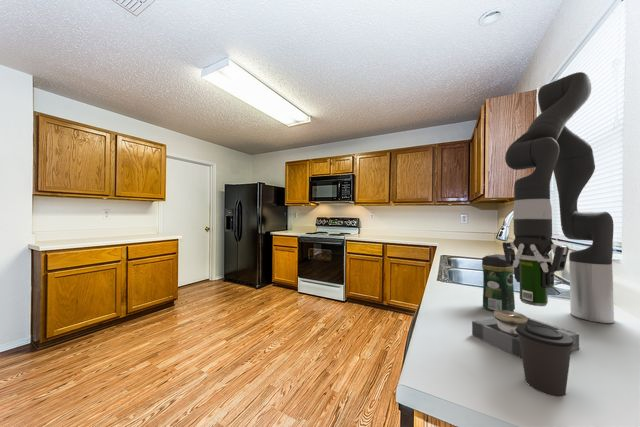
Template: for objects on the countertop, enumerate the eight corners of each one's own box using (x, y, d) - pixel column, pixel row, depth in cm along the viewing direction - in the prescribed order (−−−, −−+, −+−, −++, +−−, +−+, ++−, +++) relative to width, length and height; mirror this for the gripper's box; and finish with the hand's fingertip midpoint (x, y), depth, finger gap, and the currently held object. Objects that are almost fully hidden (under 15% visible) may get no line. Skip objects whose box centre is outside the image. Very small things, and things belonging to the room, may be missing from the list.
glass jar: (506, 336, 64) (506, 309, 64) (534, 348, 58) (534, 318, 58) (488, 339, 62) (487, 311, 62) (515, 352, 56) (514, 321, 56)
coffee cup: (505, 371, 49) (504, 319, 49) (548, 373, 48) (546, 320, 49) (540, 401, 41) (539, 338, 41) (592, 403, 40) (590, 340, 41)
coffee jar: (492, 303, 91) (491, 252, 91) (518, 310, 84) (517, 255, 85) (478, 308, 86) (477, 253, 86) (505, 315, 79) (504, 256, 80)
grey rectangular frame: (519, 327, 70) (519, 314, 70) (579, 349, 58) (578, 334, 58) (472, 334, 65) (472, 321, 65) (527, 361, 53) (526, 344, 53)
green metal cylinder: (543, 308, 59) (542, 257, 60) (516, 301, 64) (515, 254, 64) (550, 304, 62) (549, 256, 63) (524, 298, 67) (523, 253, 67)
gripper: (577, 217, 58) (579, 291, 58) (513, 218, 72) (513, 278, 71) (556, 216, 56) (557, 293, 55) (493, 218, 70) (494, 279, 69)
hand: (533, 284), depth 63 cm, fingers closed on green metal cylinder, 5 cm apart
